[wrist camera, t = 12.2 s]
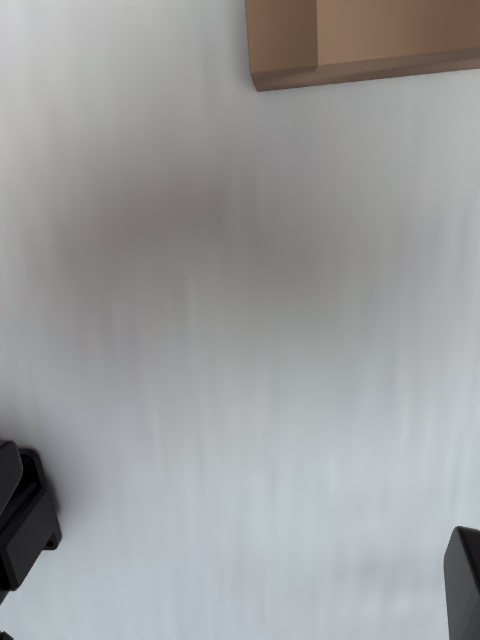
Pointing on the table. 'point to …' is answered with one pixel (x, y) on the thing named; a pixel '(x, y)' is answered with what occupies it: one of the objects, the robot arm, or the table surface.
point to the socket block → (358, 40)
